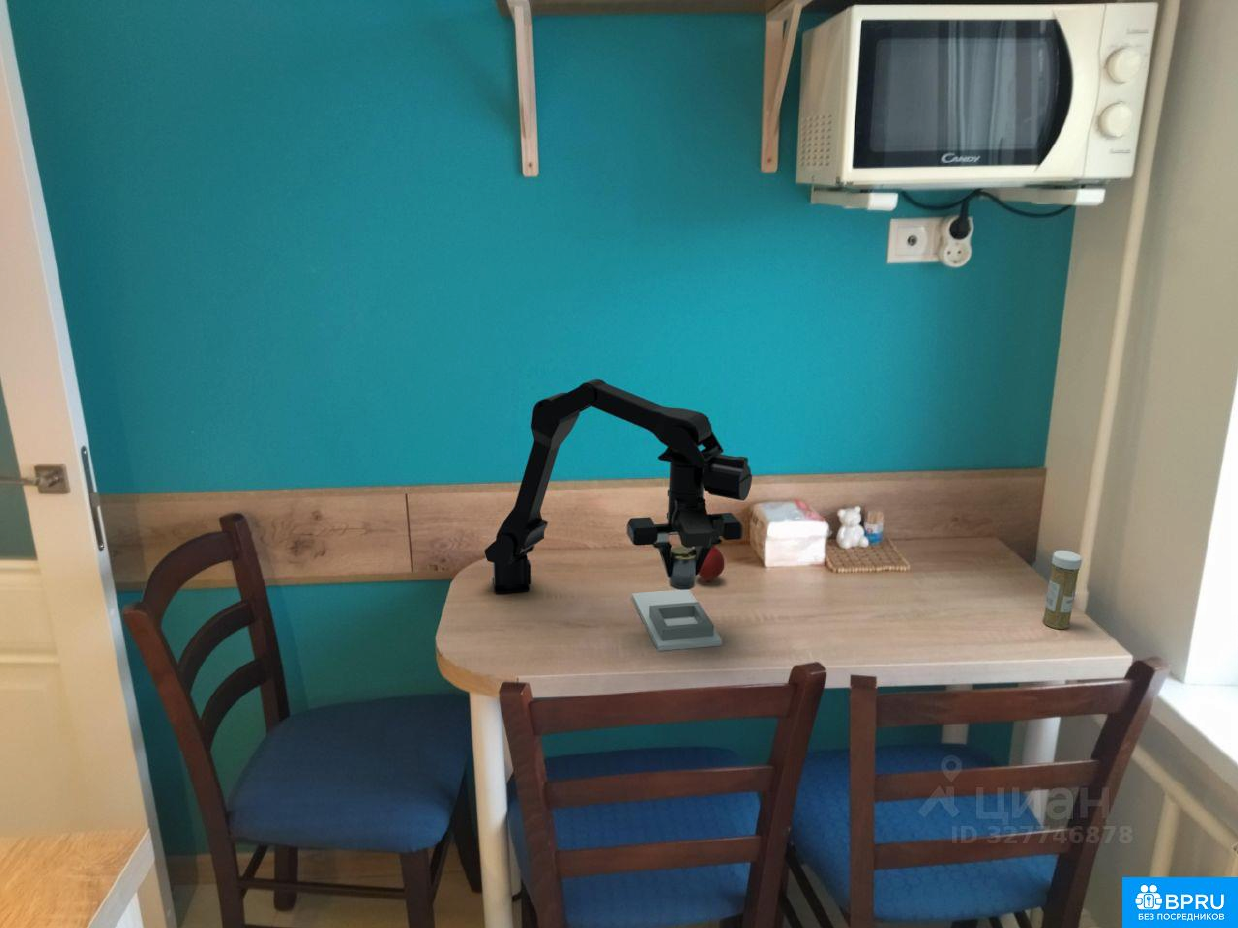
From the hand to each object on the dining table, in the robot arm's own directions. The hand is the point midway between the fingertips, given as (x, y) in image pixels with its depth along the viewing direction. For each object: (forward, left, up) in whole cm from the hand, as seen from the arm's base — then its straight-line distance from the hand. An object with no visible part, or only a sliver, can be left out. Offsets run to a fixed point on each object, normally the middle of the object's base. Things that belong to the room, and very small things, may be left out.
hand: (682, 575), depth 156 cm
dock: (0, +4, -11) cm, 11 cm away
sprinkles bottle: (+67, -9, -11) cm, 69 cm away
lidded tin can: (0, 0, -2) cm, 2 cm away
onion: (+11, +19, -11) cm, 24 cm away
